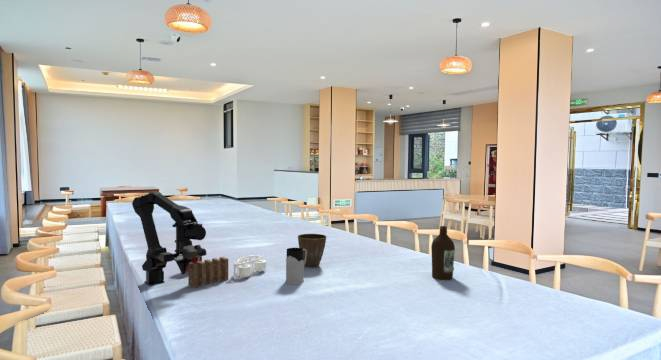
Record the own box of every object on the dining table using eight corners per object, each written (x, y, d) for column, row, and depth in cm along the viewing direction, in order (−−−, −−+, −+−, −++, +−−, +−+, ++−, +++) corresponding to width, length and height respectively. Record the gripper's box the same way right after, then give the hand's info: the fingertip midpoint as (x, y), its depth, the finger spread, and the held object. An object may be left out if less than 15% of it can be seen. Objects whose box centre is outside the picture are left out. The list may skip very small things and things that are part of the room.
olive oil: (425, 277, 193) (427, 225, 192) (441, 274, 199) (442, 223, 198) (443, 283, 185) (444, 228, 184) (458, 279, 190) (460, 226, 189)
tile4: (217, 282, 182) (217, 260, 181) (211, 280, 185) (211, 258, 185) (220, 281, 183) (221, 259, 183) (215, 279, 187) (215, 258, 186)
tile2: (201, 286, 176) (201, 263, 176) (195, 283, 180) (195, 261, 179) (205, 285, 178) (205, 262, 177) (199, 283, 181) (199, 260, 181)
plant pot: (327, 263, 219) (327, 234, 218) (324, 270, 204) (324, 239, 203) (300, 262, 220) (300, 233, 219) (295, 269, 205) (295, 238, 205)
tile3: (209, 284, 179) (209, 262, 179) (203, 282, 182) (203, 260, 182) (213, 283, 180) (213, 261, 180) (207, 281, 184) (207, 259, 183)
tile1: (193, 288, 174) (193, 265, 173) (187, 285, 177) (187, 262, 177) (197, 287, 175) (197, 264, 175) (191, 284, 178) (191, 262, 178)
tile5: (224, 281, 184) (224, 259, 184) (218, 278, 188) (218, 257, 188) (228, 280, 186) (228, 258, 185) (222, 277, 189) (222, 256, 189)
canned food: (191, 274, 196) (191, 251, 195) (182, 271, 200) (182, 249, 200) (205, 270, 202) (205, 248, 201) (195, 268, 206) (195, 246, 206)
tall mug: (281, 283, 182) (281, 250, 182) (298, 275, 195) (298, 244, 194) (297, 286, 178) (297, 252, 178) (313, 278, 191) (314, 246, 190)
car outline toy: (242, 281, 184) (242, 265, 184) (224, 277, 190) (224, 262, 190) (270, 271, 202) (270, 257, 201) (253, 268, 207) (253, 254, 207)
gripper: (169, 243, 160) (170, 283, 160) (212, 237, 173) (212, 274, 174) (158, 239, 168) (158, 277, 168) (200, 234, 181) (200, 269, 182)
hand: (183, 274), depth 173 cm, fingers closed
